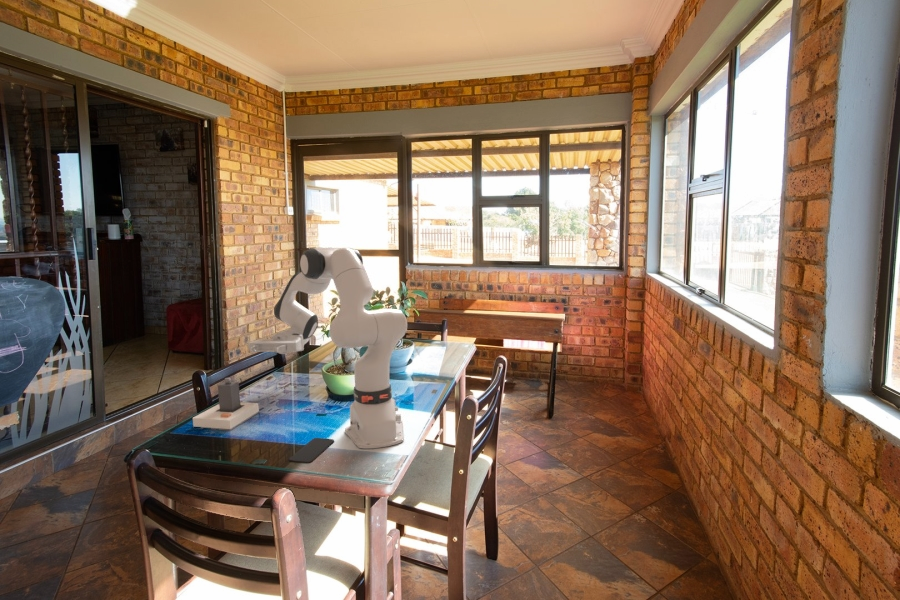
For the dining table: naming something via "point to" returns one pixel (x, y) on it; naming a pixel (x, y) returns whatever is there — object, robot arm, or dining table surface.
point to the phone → (311, 450)
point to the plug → (229, 396)
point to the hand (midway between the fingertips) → (263, 350)
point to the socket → (225, 417)
